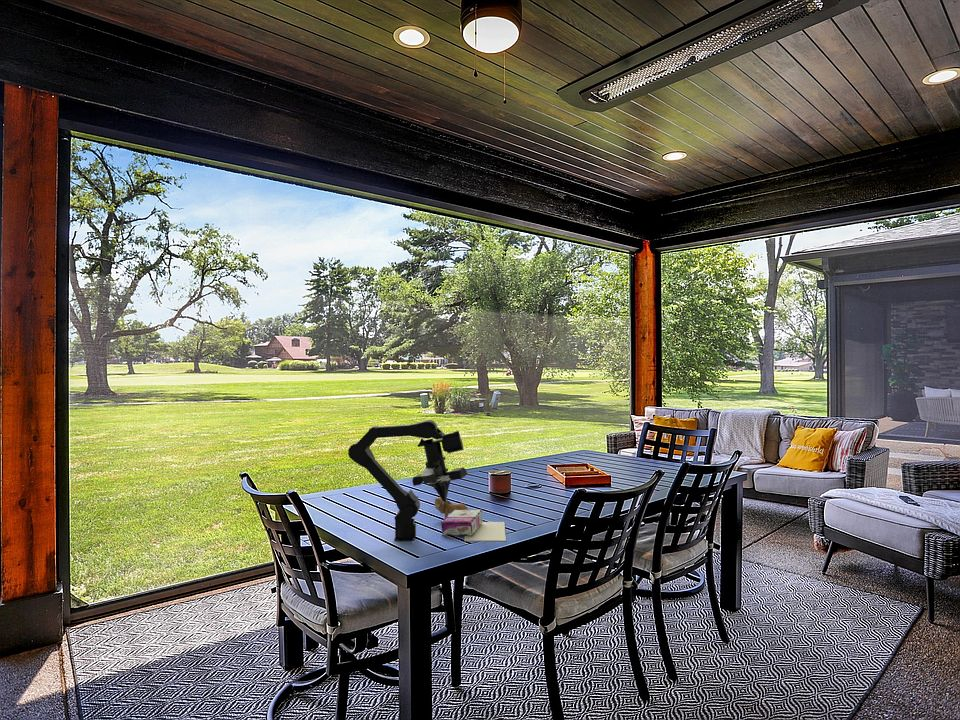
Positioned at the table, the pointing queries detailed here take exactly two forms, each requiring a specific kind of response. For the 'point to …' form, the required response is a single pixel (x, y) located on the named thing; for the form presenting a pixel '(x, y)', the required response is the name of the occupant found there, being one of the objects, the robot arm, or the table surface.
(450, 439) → the robot arm
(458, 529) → the candy bar box
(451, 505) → the lion figurine
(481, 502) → the table surface
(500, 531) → the placemat
